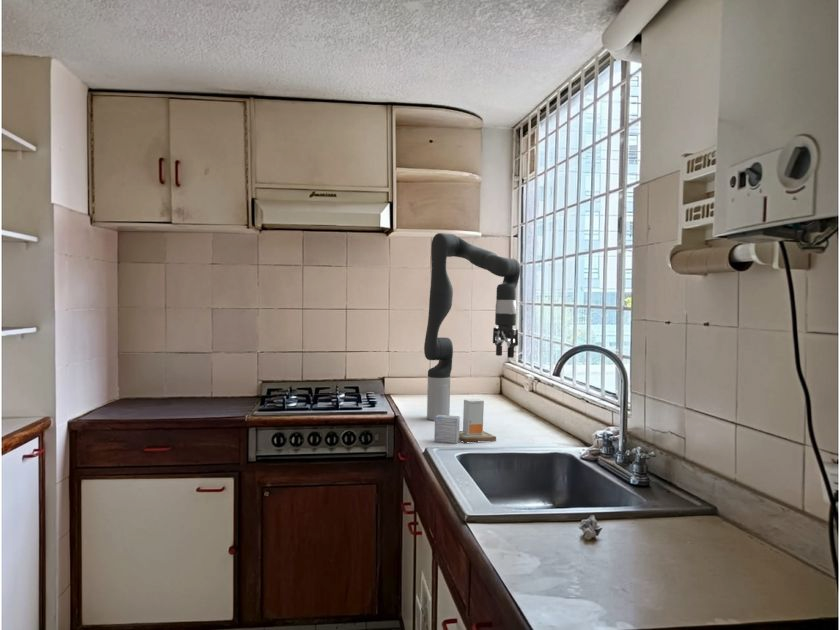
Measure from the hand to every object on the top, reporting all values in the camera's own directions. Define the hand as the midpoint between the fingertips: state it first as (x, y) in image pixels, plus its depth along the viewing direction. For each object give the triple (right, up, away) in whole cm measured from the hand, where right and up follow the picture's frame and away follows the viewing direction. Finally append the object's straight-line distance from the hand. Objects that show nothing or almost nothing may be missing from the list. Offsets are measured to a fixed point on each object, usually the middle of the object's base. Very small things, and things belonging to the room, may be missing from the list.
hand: (504, 356), depth 225 cm
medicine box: (-22, -28, -15) cm, 39 cm away
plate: (-13, -28, -10) cm, 32 cm away
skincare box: (-12, -27, -10) cm, 31 cm away
